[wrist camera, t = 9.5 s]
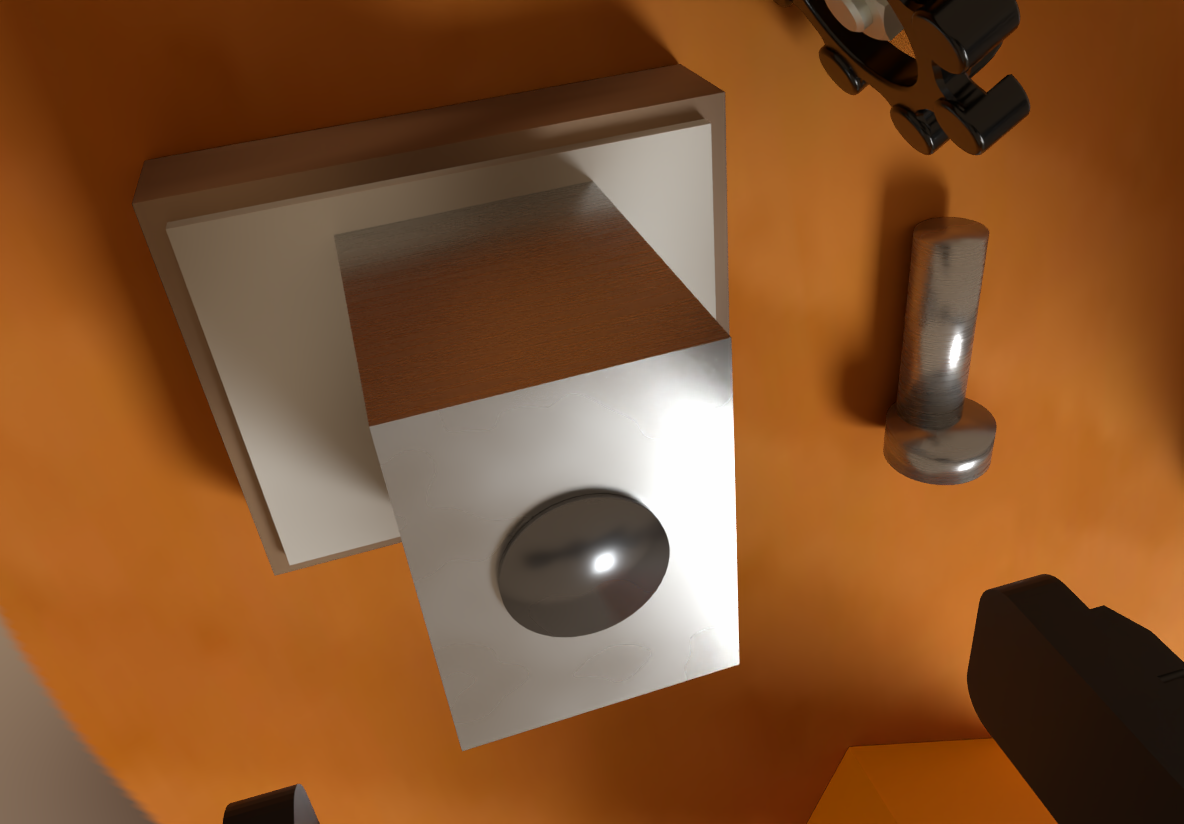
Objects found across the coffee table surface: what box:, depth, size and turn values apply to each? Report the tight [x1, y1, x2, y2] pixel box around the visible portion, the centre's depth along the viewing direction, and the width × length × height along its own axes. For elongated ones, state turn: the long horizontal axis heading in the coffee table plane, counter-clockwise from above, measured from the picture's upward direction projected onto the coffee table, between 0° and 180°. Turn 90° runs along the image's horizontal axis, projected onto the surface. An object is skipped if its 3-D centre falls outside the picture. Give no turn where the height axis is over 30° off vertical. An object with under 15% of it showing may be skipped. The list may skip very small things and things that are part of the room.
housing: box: [334, 181, 739, 751], centre depth 16 cm, size 4×6×6 cm
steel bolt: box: [883, 217, 996, 485], centre depth 23 cm, size 6×3×3 cm, turn 5°
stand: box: [132, 64, 729, 575], centre depth 19 cm, size 10×8×2 cm
